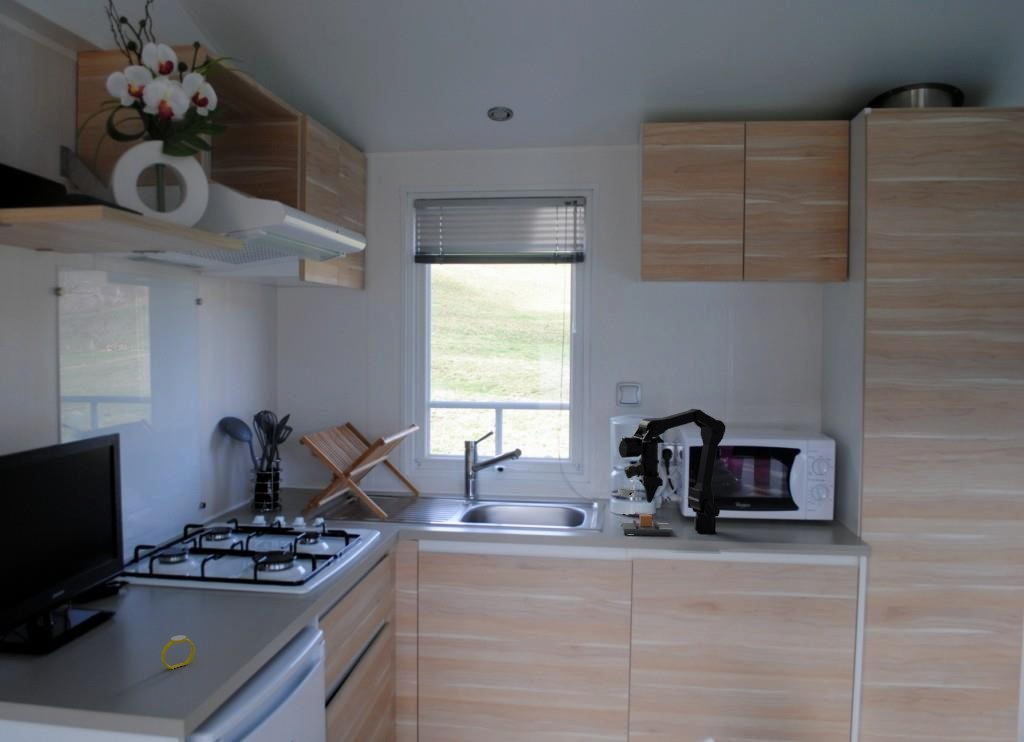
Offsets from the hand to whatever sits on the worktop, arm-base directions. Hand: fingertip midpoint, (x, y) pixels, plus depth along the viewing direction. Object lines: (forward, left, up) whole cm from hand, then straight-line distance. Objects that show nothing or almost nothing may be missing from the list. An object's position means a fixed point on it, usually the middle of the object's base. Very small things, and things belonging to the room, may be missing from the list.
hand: (649, 502), depth 235 cm
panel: (0, -7, -12) cm, 14 cm away
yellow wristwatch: (+108, +103, -12) cm, 149 cm away
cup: (+3, -33, -12) cm, 36 cm away
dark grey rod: (0, -2, -12) cm, 12 cm away
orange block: (0, -7, -10) cm, 12 cm away
